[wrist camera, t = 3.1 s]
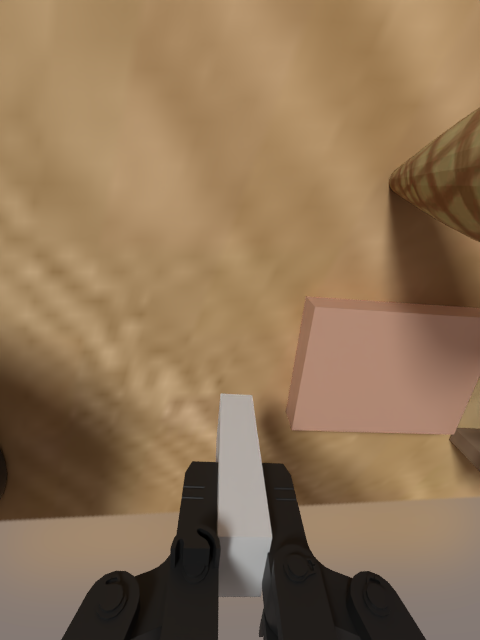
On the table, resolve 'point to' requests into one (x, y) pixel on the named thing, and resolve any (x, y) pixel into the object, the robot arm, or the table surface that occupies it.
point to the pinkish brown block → (383, 366)
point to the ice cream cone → (446, 177)
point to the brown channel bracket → (468, 444)
